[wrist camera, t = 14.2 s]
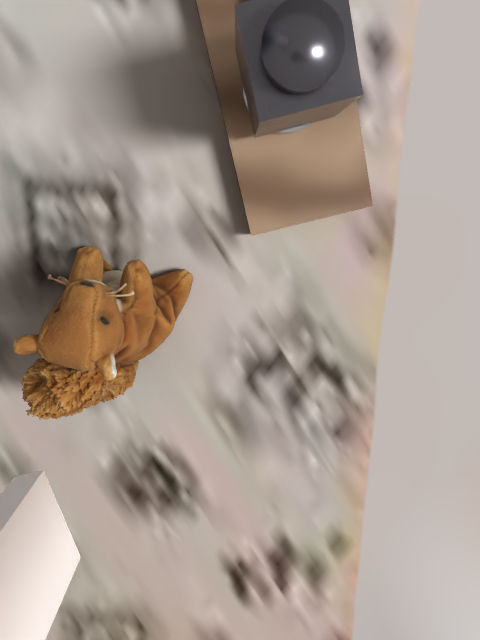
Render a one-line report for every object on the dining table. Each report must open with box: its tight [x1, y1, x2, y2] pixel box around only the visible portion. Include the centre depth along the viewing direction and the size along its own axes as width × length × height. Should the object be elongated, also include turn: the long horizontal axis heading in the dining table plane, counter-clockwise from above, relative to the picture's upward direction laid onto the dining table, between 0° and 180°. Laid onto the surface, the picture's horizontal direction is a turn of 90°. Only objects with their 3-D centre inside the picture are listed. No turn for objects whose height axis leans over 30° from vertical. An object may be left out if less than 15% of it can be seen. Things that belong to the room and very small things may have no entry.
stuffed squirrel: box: [14, 246, 193, 420], centre depth 34 cm, size 10×14×13 cm
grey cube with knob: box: [234, 0, 363, 138], centre depth 28 cm, size 6×6×9 cm
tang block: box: [196, 0, 373, 236], centre depth 32 cm, size 20×10×6 cm, turn 14°
